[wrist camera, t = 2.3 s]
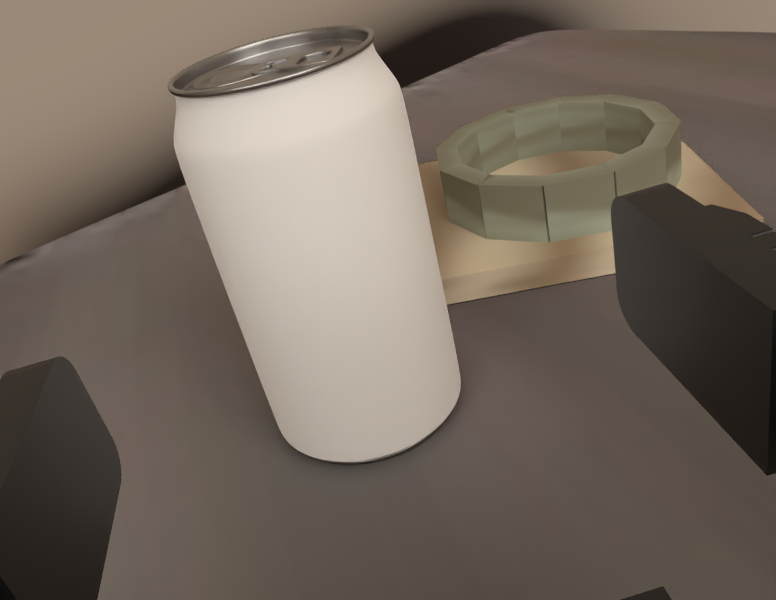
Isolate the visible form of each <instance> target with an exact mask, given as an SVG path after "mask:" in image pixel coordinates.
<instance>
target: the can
mask: <svg viewBox="0 0 776 600" xmlns="http://www.w3.org/2000/svg"><path fill="white" fill-rule="evenodd" d="M373 41H374V32H373V31H372V30H371V29H370V28H368V27H365V26H358V25H338V26H327V27H320V28H312V29H306V30H301V31H296V32H291V33H286V34H282V35H278V36H273V37H269V38H266V39H262V40H258V41H255V42H251V43H248V44H245V45H242V46H238V47H236V48H232V49H229V50H227V51H224V52H221V53H218V54H216V55H213V56H211V57H208V58H206V59H204V60H202V61H199V62H197V63H195V64H193V65H191V66H189V67H187V68H185V69H183V70H182V71H180V72H179V73H177V74H176V75H175V76H174V77H173V78H172V79H171V80H170V81H169V83H168V89H169V91H170V92H171V93H172V94H173V95H175V100H176V117H175V128H174V148H175V152H176V155H177V159H178V161H179V165H180V168H181V170H182V173H183V176H184V179H185V182H186V184H187V187H188V190H189V193H190V195H191V198H192V201H193V203H194V206H195V209H196V212H197V214H198V217H199V220H200V222H201V225H202V228H203V230H204V233H205V236H206V238H207V241H208V244H209V246H210V249H211V252H212V254H213V257H214V260H215V262H216V265H217V268H218V270H219V273H220V276H221V278H222V281H223V284H224V286H225V289H226V291H227V294H228V297H229V299H230V302H231V305H232V307H233V310H234V313H235V315H236V318H237V321H238V323H239V326H240V328H241V331H242V334H243V336H244V339H245V342H246V344H247V347H248V350H249V352H250V355H251V357H252V360H253V363H254V365H255V368H256V370H257V373H258V376H259V378H260V381H261V384H262V386H263V389H264V391H265V394H266V397H267V399H268V402H269V404H270V407H271V409H272V412H273V414H274V417H275V419H276V422H277V424H278V427H279V429H280V431H281V433H282V435H283V437H284V438H285V439H286V441H287V442H288V443H289V444H290V445H291V446H292V447H294V448H295V449H297V450H298V451H300V452H302V453H304V454H306V455H308V456H311V457H314V458H317V459H319V460H322V461H326V462H330V463H337V464H363V463H370V462H376V461H380V460H384V459H387V458H390V457H393V456H396V455H399V454H401V453H403V452H405V451H408V450H410V449H411V448H413V447H415V446H417V445H418V444H420V443H421V442H423V441H424V440H426V439H427V438H428V437H430V436H431V435H432V434H433V433H434V432H435V431H436V430H437V429H438V428H439V427H440V426H441V425H442V424H443V422H444V421H445V420H446V418H447V417H448V415H449V414H450V413H451V411H452V410H453V408H454V406H455V404H456V402H457V400H458V397H459V394H460V389H461V379H460V372H459V366H458V360H457V355H456V350H455V345H454V339H453V334H452V329H451V324H450V319H449V314H448V309H447V304H446V299H445V295H444V290H443V285H442V280H441V275H440V270H439V265H438V260H437V255H436V250H435V245H434V241H433V236H432V231H431V226H430V221H429V216H428V211H427V207H426V202H425V197H424V192H423V187H422V182H421V178H420V173H419V168H418V163H417V158H416V154H415V149H414V144H413V139H412V135H411V130H410V125H409V121H408V116H407V112H406V108H405V103H404V99H403V95H402V92H401V89H400V86H399V83H398V82H397V80H396V79H395V77H394V75H393V74H392V73H391V71H390V70H389V69H388V67H387V66H386V65H385V63H384V62H383V61H382V59H381V58H380V57H379V55H378V54H377V52H376V50H375V48H374V46H373V43H372V42H373Z"/></svg>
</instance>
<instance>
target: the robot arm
mask: <svg viewBox="0 0 776 600" xmlns="http://www.w3.org/2000/svg"><path fill="white" fill-rule="evenodd" d="M611 225H612V237H613V248H614V260H615V272H616V284H617V294H618V299H619V303H620V307H621V310H622V312H623V315H624V317H625V319H626V321H627V323H628V325H629V327H630V328H631V330H632V331H633V332H634V333H635V334H636V335H637V336H638V338H639V339H640V340H641V341H642V342H643V343H644V344H645V345H646V346H647V347H648V348H649V349H650V350H651V351H652V353H653V354H654V355H655V356H656V357H657V358H658V359H659V360H660V361H661V362H662V363H663V364H664V365H665V367H666V368H667V369H668V370H669V371H670V372H671V373H672V374H673V375H674V376H675V377H676V378H677V379H678V381H679V382H680V383H681V384H682V385H683V386H684V387H685V388H686V389H687V390H688V391H689V392H690V393H691V394H692V396H693V397H694V398H695V399H696V400H697V401H698V402H699V403H700V404H701V405H702V406H703V407H704V408H705V410H706V411H707V412H708V413H709V414H710V415H711V416H712V417H713V418H714V419H715V420H716V421H717V422H718V423H719V425H720V426H721V427H722V428H723V429H724V430H725V431H726V432H727V433H728V434H729V435H730V436H731V437H732V439H733V440H734V441H735V442H736V443H737V444H738V445H739V446H740V447H741V448H742V449H743V450H744V451H745V452H746V454H747V455H748V456H749V457H750V458H751V459H752V460H753V461H754V462H755V463H756V464H757V465H758V466H759V468H760V469H761V470H762V471H763V472H764V473H765V474H766V475H767V476H768V475H771V474H774V473H776V232H774V233H773V231H772V228H770V227H769V226H767V225H765V224H764V223H762V222H760V221H759V220H757V219H755V218H754V217H752V216H750V215H749V214H747V213H744V212H740V211H736V210H732V209H728V208H724V207H720V206H717V205H713V204H710V205H706V206H704V205H703V204H701V203H700V202H698V201H696V200H695V199H693V198H692V197H690V196H689V195H687V194H686V193H684V192H682V191H681V190H679V189H678V188H676V187H675V186H673V185H671V184H669V183H663V184H659V185H656V186H652V187H649V188H645V189H642V190H638V191H635V192H631V193H628V194H625V195H621V196H618V197H616V198H614V200H613V202H612V205H611ZM120 485H121V465H120V460H119V455H118V452H117V449H116V446H115V443H114V441H113V439H112V437H111V435H110V433H109V431H108V429H107V427H106V426H105V424H104V422H103V420H102V418H101V416H100V414H99V413H98V411H97V409H96V407H95V405H94V403H93V401H92V399H91V398H90V396H89V394H88V392H87V390H86V388H85V386H84V385H83V383H82V381H81V379H80V377H79V375H78V373H77V372H76V370H75V368H74V367H73V365H72V364H71V363H70V362H69V361H68V360H67V359H66V358H64V357H60V356H59V357H56V358H53V359H49V360H46V361H42V362H39V363H35V364H32V365H28V366H25V367H21V368H18V369H14V370H11V371H8V372H6V373H5V374H4V375H3V376H2V378H1V380H0V600H97V598H98V593H99V588H100V583H101V578H102V573H103V568H104V563H105V558H106V553H107V549H108V544H109V539H110V534H111V529H112V524H113V519H114V514H115V509H116V504H117V499H118V494H119V490H120ZM621 600H671V598H670V596H669V595H668V593H667V592H666V590H665V588H664V587H659V588H656V589H653V590H650V591H647V592H644V593H640V594H637V595H634V596H631V597H628V598H625V599H621Z"/></svg>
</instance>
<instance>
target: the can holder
mask: <svg viewBox="0 0 776 600" xmlns="http://www.w3.org/2000/svg"><path fill="white" fill-rule="evenodd" d="M436 155H437V160H438V161H433V162H428V163H424V164H419V165H418V168H419V173H420V178H421V182H422V187H423V192H424V197H425V202H426V207H427V211H428V216H429V221H430V226H431V231H432V236H433V241H434V245H435V250H436V255H437V260H438V265H439V270H440V275H441V280H442V285H443V290H444V295H445V299H446V304H447V305H448V304H453V303H459V302H464V301H469V300H475V299H480V298H485V297H491V296H496V295H501V294H507V293H512V292H517V291H523V290H528V289H533V288H539V287H544V286H549V285H555V284H560V283H565V282H571V281H576V280H582V279H587V278H592V277H598V276H603V275H608V274H614V273H616V272H615V260H614V248H613V237H612V225H611V205H612V202H613V200H614V198H616V197H618V196H621V195H625V194H628V193H631V192H635V191H638V190H642V189H645V188H649V187H652V186H656V185H659V184H663V183H669V184H671V185H673V186H675V187H676V188H678V189H679V190H681V191H682V192H684V193H686V194H687V195H689V196H690V197H692V198H693V199H695V200H696V201H698V202H700V203H701V204H703V205H704V206H706V205H710V204H713V205H717V206H720V207H724V208H728V209H732V210H736V211H740V212H744V213H747V214H749V215H750V216H752V217H754V218H755V219H757V220H759V221H760V222H762V223H763V217H762V216H761V215H760V214H759V213H758V212H757V211H755V210H754V209H753V208H752V207H751V206H750V205H749V204H748V203H747V202H746V201H745V200H744V199H743V198H742V197H741V196H740V195H739V194H737V193H736V192H735V191H734V190H733V189H732V188H731V187H730V186H729V185H728V184H727V183H726V182H725V181H724V180H723V179H722V178H721V177H719V176H718V175H717V174H716V173H715V172H714V171H713V170H712V169H711V168H710V167H709V166H708V165H707V164H706V163H705V162H704V161H703V160H701V159H700V158H699V157H698V156H697V155H696V154H695V153H694V152H693V151H692V150H691V149H690V148H689V147H688V146H687V145H686V144H685V143H684V142H682V141H681V120H680V119H678V118H677V117H676V116H675V115H674V114H673V113H672V112H670V111H669V110H668V109H667V108H666V107H665V106H664V105H662V104H661V103H659V102H655V101H650V100H644V99H639V98H633V97H627V96H622V95H616V94H615V95H614V94H609V95H588V96H566V97H556V98H551V99H547V100H542V101H537V102H532V103H528V104H523V105H518V106H514V107H509V108H505V109H502V110H499V111H497V112H495V113H492V114H490V115H487V116H485V117H483V118H480V119H478V120H475V121H473V122H471V123H468V124H466V125H463V126H461V127H459V128H458V129H457V130H456V131H455V132H454V133H453V134H452V135H451V136H449V137H448V138H447V139H446V140H445V141H444V142H443V143H442V144H441V145H439V146H438V147H437V148H436Z"/></svg>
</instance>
